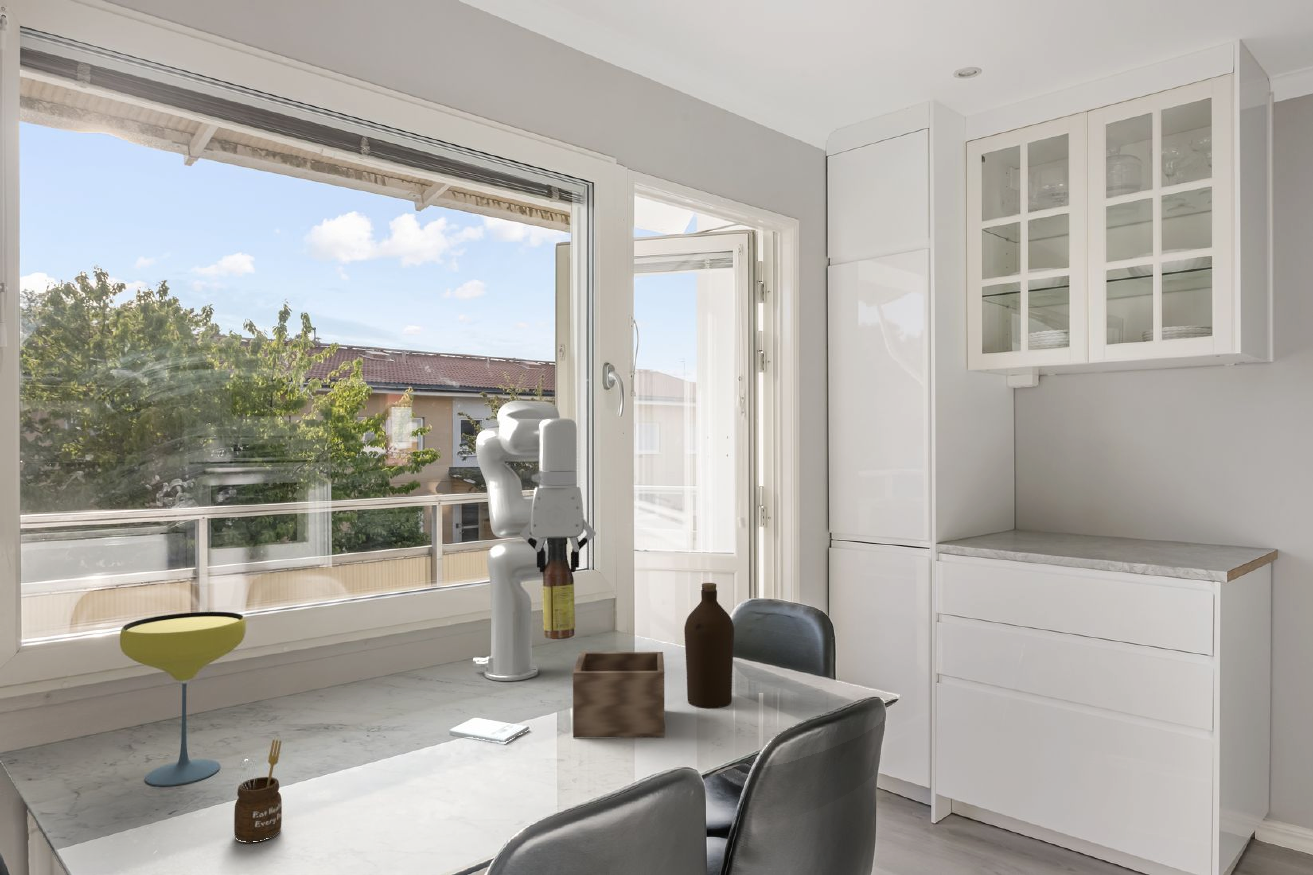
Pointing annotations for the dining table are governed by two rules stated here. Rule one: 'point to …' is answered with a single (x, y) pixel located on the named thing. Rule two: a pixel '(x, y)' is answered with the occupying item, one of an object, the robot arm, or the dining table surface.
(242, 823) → the utensil holder
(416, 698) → the dining table surface
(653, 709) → the walled box
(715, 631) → the olive oil
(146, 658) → the cocktail glass
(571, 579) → the sauce bottle
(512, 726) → the external hard drive
